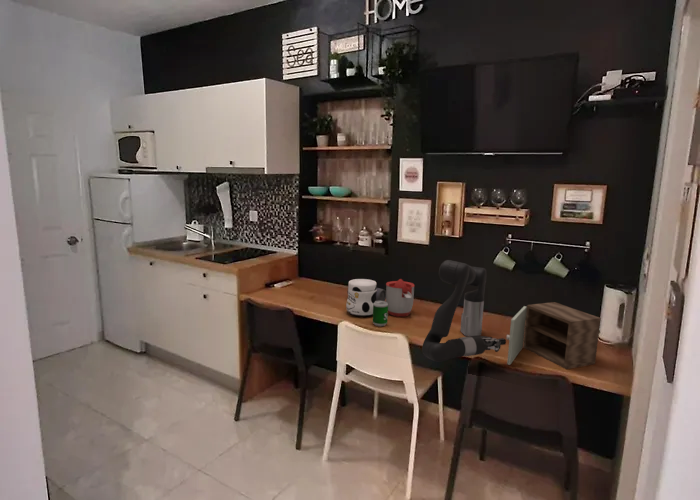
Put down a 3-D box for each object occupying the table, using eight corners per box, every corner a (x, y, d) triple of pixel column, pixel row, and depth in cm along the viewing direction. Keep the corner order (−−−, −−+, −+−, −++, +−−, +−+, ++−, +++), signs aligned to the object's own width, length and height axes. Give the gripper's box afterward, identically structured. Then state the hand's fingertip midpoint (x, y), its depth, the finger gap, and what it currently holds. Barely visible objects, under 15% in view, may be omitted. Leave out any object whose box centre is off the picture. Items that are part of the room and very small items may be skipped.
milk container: (340, 314, 240) (340, 282, 237) (356, 307, 255) (357, 276, 252) (367, 320, 231) (368, 287, 228) (382, 312, 246) (384, 281, 243)
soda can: (381, 328, 221) (381, 305, 219) (369, 324, 226) (370, 301, 224) (390, 324, 226) (391, 302, 224) (378, 321, 231) (379, 299, 229)
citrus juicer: (395, 320, 233) (396, 284, 229) (379, 311, 248) (381, 276, 245) (420, 317, 239) (422, 281, 235) (403, 308, 254) (405, 274, 251)
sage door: (503, 363, 181) (507, 319, 178) (516, 345, 201) (520, 305, 198) (510, 364, 180) (514, 320, 177) (523, 346, 199) (526, 306, 196)
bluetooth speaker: (346, 300, 269) (346, 284, 267) (355, 296, 276) (355, 281, 275) (378, 307, 256) (379, 290, 254) (386, 303, 264) (387, 287, 262)
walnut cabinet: (566, 369, 178) (571, 321, 175) (523, 347, 200) (527, 305, 197) (594, 363, 184) (600, 318, 181) (550, 343, 206) (554, 302, 203)
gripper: (481, 342, 169) (516, 338, 175) (460, 331, 181) (494, 327, 188) (479, 361, 170) (515, 355, 177) (459, 348, 183) (493, 344, 189)
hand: (504, 341), depth 182 cm, fingers closed
